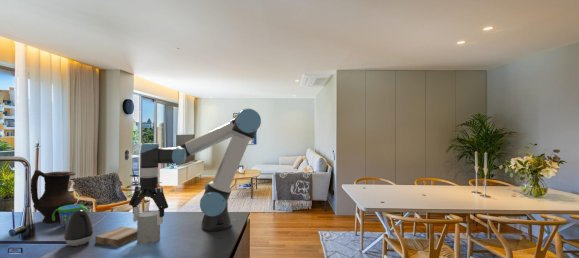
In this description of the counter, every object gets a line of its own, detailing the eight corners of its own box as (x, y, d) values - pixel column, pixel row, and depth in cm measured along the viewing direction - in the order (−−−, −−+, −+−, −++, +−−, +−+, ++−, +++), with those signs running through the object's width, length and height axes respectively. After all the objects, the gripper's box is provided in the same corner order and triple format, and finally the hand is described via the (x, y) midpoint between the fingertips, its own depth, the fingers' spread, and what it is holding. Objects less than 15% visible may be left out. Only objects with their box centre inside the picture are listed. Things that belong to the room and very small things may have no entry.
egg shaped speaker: (69, 250, 111) (70, 214, 112) (60, 245, 117) (60, 210, 117) (97, 242, 120) (97, 208, 120) (87, 237, 126) (87, 205, 126)
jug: (62, 213, 163) (62, 165, 163) (84, 216, 158) (85, 166, 158) (19, 225, 142) (19, 169, 143) (43, 228, 137) (43, 171, 138)
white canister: (153, 244, 117) (153, 216, 118) (132, 244, 118) (132, 216, 118) (164, 236, 127) (164, 210, 127) (144, 236, 127) (144, 210, 127)
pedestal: (142, 235, 128) (142, 229, 128) (117, 246, 115) (117, 239, 115) (121, 232, 132) (121, 226, 132) (95, 243, 119) (95, 236, 119)
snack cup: (92, 221, 149) (92, 203, 149) (82, 227, 139) (83, 208, 139) (59, 223, 145) (59, 205, 145) (47, 230, 135) (47, 210, 135)
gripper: (177, 176, 123) (176, 222, 122) (134, 173, 130) (133, 217, 130) (165, 179, 116) (164, 228, 115) (121, 175, 123) (119, 221, 122)
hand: (147, 222), depth 122 cm, fingers open, 13 cm apart
